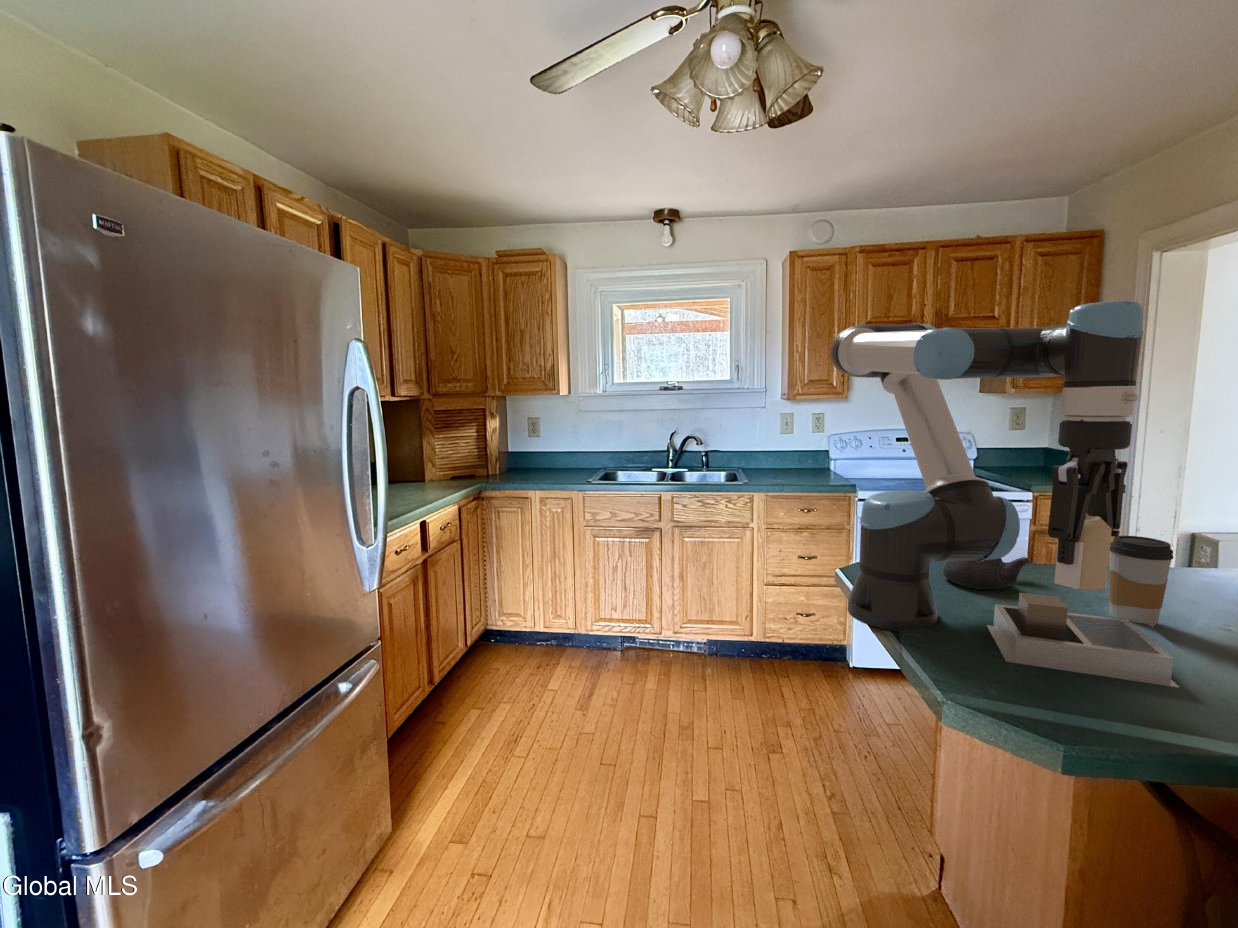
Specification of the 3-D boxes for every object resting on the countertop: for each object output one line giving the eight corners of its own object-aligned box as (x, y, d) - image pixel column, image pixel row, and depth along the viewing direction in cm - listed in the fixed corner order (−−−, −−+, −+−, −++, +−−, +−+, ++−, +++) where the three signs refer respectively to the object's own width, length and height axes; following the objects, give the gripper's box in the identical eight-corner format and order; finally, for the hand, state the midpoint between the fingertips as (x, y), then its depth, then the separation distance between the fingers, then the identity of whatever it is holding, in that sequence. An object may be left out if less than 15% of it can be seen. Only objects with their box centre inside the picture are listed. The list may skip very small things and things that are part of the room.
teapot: (1017, 602, 109) (1021, 553, 107) (933, 582, 120) (936, 538, 119) (1043, 580, 121) (1046, 536, 119) (964, 564, 132) (967, 524, 131)
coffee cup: (1178, 632, 94) (1188, 548, 92) (1121, 629, 96) (1130, 546, 94) (1142, 613, 102) (1151, 535, 100) (1091, 610, 104) (1099, 534, 102)
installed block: (1023, 651, 86) (1027, 603, 85) (1015, 638, 91) (1019, 592, 90) (1063, 657, 84) (1067, 607, 83) (1052, 643, 89) (1056, 596, 88)
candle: (1055, 586, 77) (1061, 516, 76) (1055, 575, 81) (1060, 509, 80) (1107, 594, 74) (1114, 521, 73) (1104, 582, 78) (1111, 514, 77)
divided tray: (1005, 667, 83) (1008, 636, 83) (986, 630, 96) (988, 603, 95) (1178, 694, 75) (1183, 659, 75) (1132, 649, 88) (1135, 620, 88)
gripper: (1088, 422, 68) (1071, 601, 71) (1166, 417, 75) (1148, 580, 78) (1023, 420, 74) (1010, 583, 77) (1100, 416, 82) (1086, 565, 85)
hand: (1079, 581), depth 78 cm, fingers closed on candle, 5 cm apart
